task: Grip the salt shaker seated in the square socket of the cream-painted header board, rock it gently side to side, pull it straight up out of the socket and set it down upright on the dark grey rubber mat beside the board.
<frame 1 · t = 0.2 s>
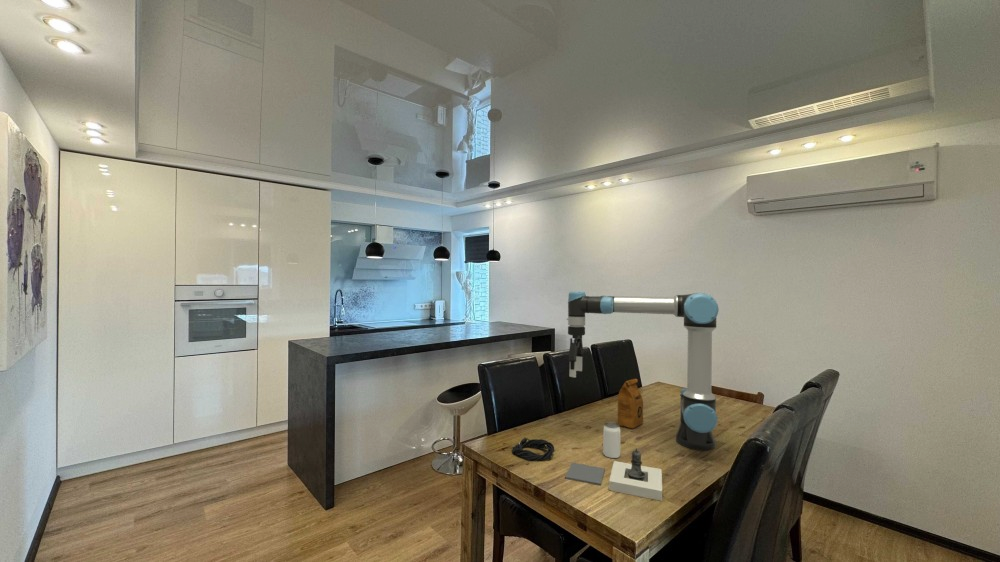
hand: (576, 373, 172), 28 cm above the table, fingers open, 13 cm apart
can: (611, 455, 153), on the table
coffee package: (630, 425, 187), on the table
header board: (636, 483, 131), on the table
salt shaker: (636, 484, 131), resting in header board
rubber mat: (585, 474, 137), on the table
cable: (533, 454, 154), on the table
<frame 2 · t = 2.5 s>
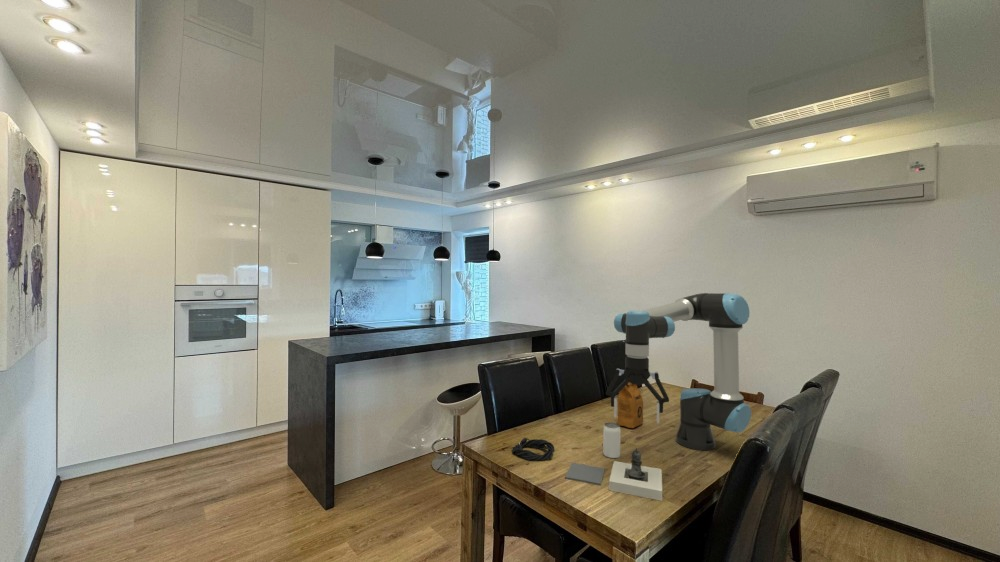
hand: (636, 419, 131), 22 cm above the table, fingers open, 13 cm apart
nothing on the table moved.
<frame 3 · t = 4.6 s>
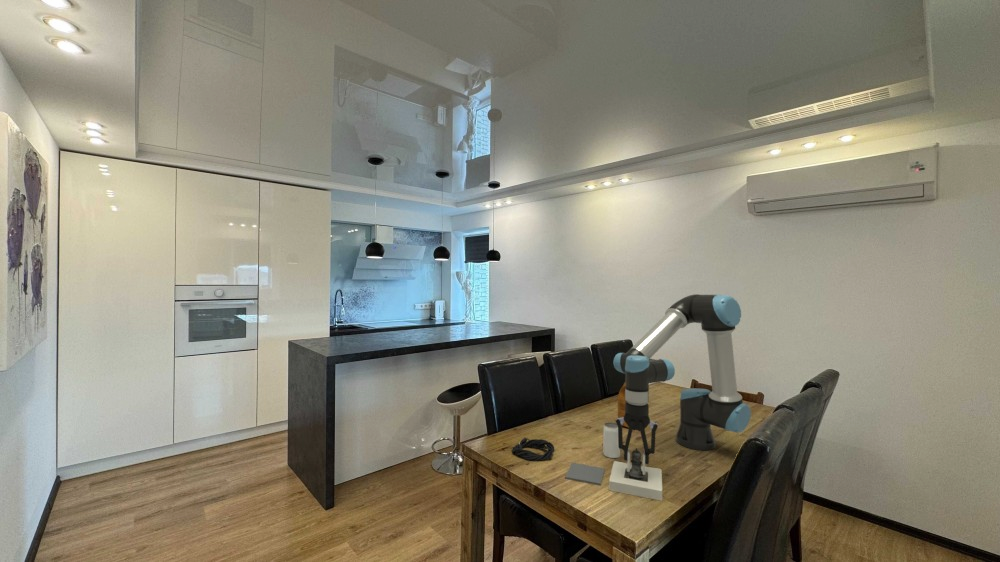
hand: (636, 471, 131), 4 cm above the table, fingers closed on salt shaker, 4 cm apart
salt shaker: (636, 484, 131), resting in header board, touching gripper
everything else where it was.
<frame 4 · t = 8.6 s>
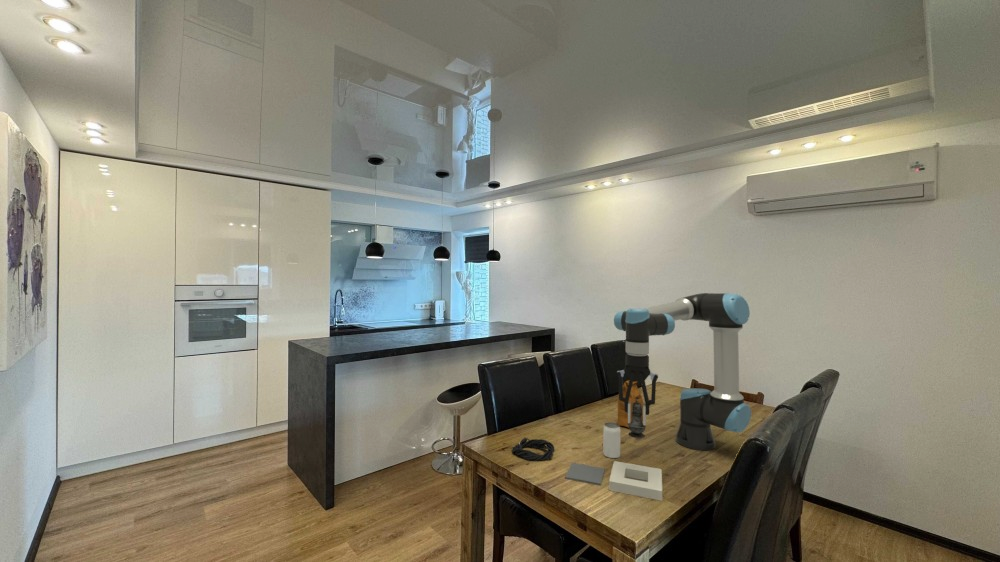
hand: (636, 422, 131), 20 cm above the table, fingers closed on salt shaker, 4 cm apart
salt shaker: (636, 435, 131), point 16 cm above the table, touching gripper
everything else where it was.
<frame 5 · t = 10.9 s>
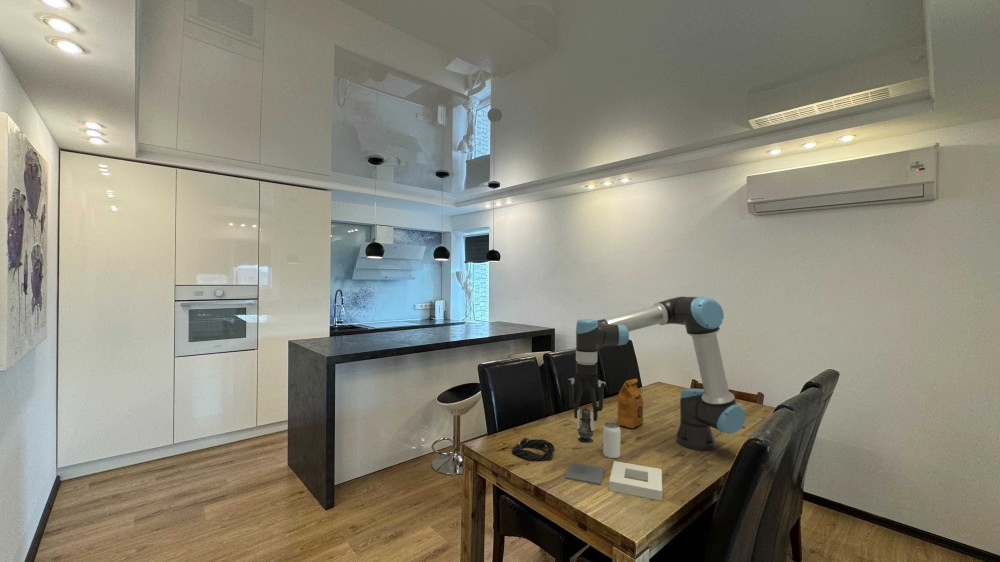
hand: (585, 428, 137), 16 cm above the table, fingers closed on salt shaker, 4 cm apart
salt shaker: (585, 440, 137), point 12 cm above the table, touching gripper
everything else where it was.
when the fingers open (6 cm above the table, at t = 12.8 s): salt shaker drops 2 cm, resting on rubber mat.
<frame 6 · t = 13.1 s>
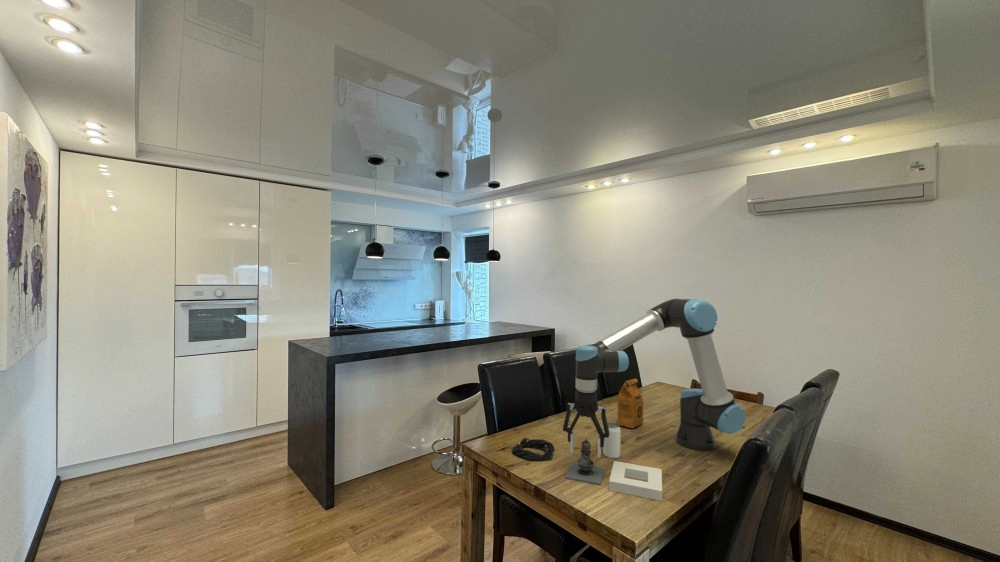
hand: (585, 453, 137), 7 cm above the table, fingers open, 9 cm apart
salt shaker: (585, 472, 137), resting on rubber mat
everything else where it was.
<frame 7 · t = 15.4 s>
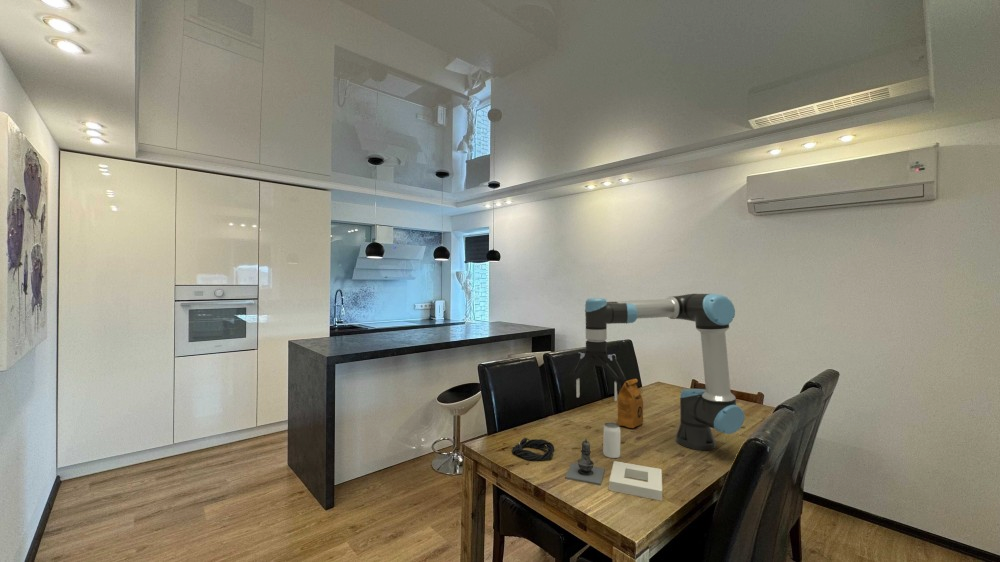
hand: (596, 398, 142), 26 cm above the table, fingers open, 13 cm apart
nothing on the table moved.
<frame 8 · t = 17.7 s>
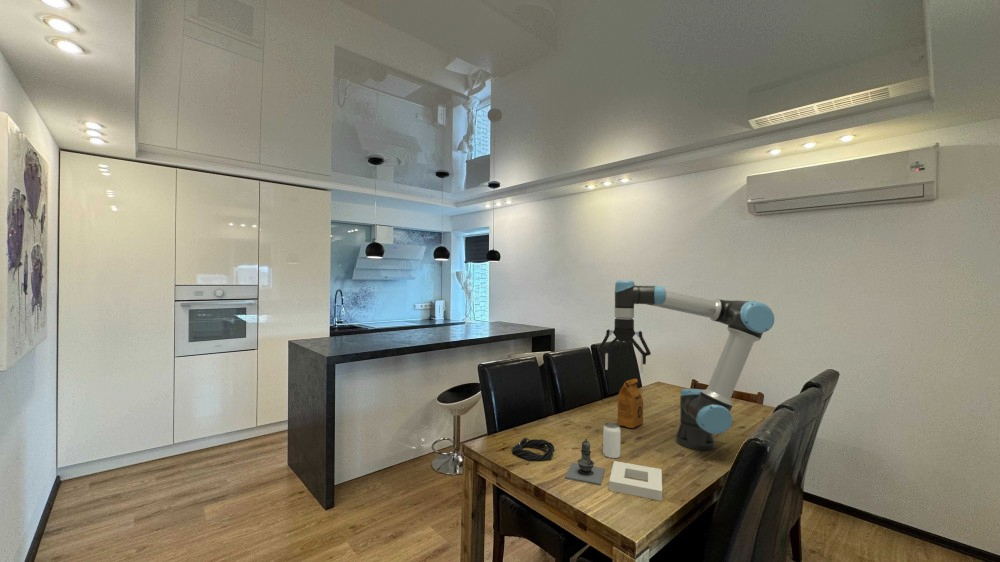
hand: (623, 370, 157), 33 cm above the table, fingers open, 13 cm apart
nothing on the table moved.
at the end: salt shaker inside the target area on the rubber mat (0.1 cm from its centre), point 0.4 cm above the rubber mat's base; salt shaker tilted 0°; the gripper is holding nothing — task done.
